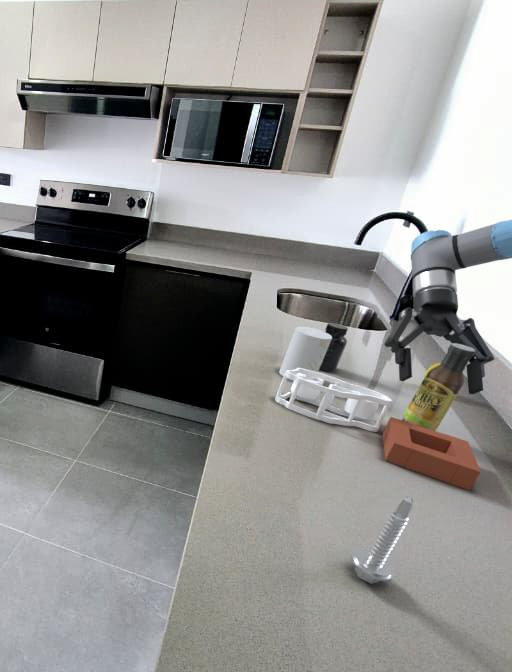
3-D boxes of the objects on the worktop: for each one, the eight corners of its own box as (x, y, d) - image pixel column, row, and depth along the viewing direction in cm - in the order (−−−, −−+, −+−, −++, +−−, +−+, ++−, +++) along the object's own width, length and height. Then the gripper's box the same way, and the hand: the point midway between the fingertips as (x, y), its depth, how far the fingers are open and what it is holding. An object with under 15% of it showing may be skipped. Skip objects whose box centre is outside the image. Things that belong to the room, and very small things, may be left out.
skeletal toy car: (379, 423, 108) (394, 393, 105) (375, 441, 100) (390, 410, 97) (283, 388, 119) (294, 360, 116) (272, 403, 110) (283, 373, 107)
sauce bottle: (391, 423, 109) (435, 339, 101) (411, 422, 111) (455, 339, 103) (420, 440, 104) (468, 352, 95) (440, 438, 106) (489, 352, 97)
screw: (377, 566, 67) (394, 595, 63) (339, 558, 68) (354, 586, 63) (421, 489, 62) (443, 514, 57) (380, 480, 62) (399, 505, 58)
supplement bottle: (313, 359, 140) (329, 319, 135) (338, 369, 136) (356, 328, 131) (303, 364, 136) (320, 323, 131) (330, 374, 132) (348, 332, 127)
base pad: (457, 458, 99) (467, 441, 97) (469, 490, 88) (481, 472, 86) (382, 433, 104) (390, 416, 102) (385, 460, 94) (394, 442, 92)
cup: (308, 386, 122) (327, 341, 117) (275, 374, 126) (291, 329, 121) (317, 378, 127) (335, 335, 123) (285, 366, 132) (301, 324, 127)
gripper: (481, 314, 112) (490, 403, 105) (365, 294, 115) (366, 379, 107) (510, 297, 105) (522, 391, 98) (385, 276, 108) (388, 366, 100)
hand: (440, 385), depth 102 cm, fingers open, 13 cm apart
